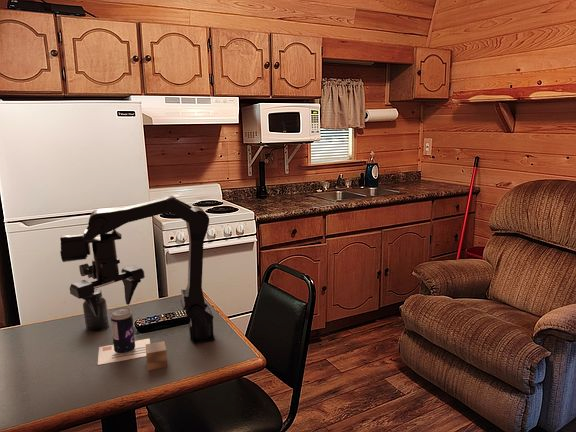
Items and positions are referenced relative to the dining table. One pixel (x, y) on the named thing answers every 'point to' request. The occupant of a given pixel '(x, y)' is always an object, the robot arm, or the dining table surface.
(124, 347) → the beverage can
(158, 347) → the walnut block
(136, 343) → the letter
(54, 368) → the dining table surface
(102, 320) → the supplement bottle
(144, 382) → the dining table surface
